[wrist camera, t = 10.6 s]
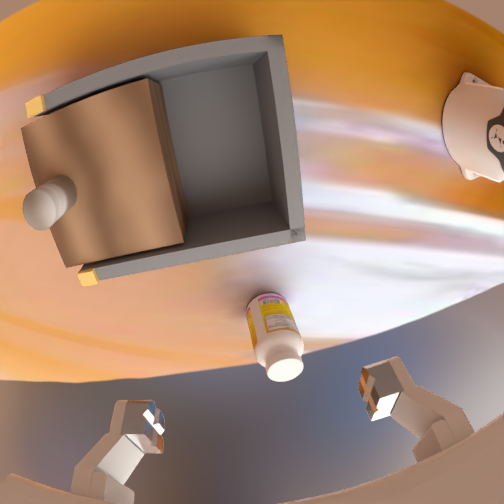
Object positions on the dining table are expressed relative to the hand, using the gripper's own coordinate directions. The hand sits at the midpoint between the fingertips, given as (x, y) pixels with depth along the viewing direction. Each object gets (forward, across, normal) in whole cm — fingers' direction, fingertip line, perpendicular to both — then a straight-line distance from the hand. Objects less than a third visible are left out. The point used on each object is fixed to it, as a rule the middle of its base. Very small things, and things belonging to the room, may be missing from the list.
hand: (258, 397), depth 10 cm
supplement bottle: (+30, -2, +20) cm, 36 cm away
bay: (+29, +6, -5) cm, 30 cm away
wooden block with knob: (+28, +13, -5) cm, 31 cm away
